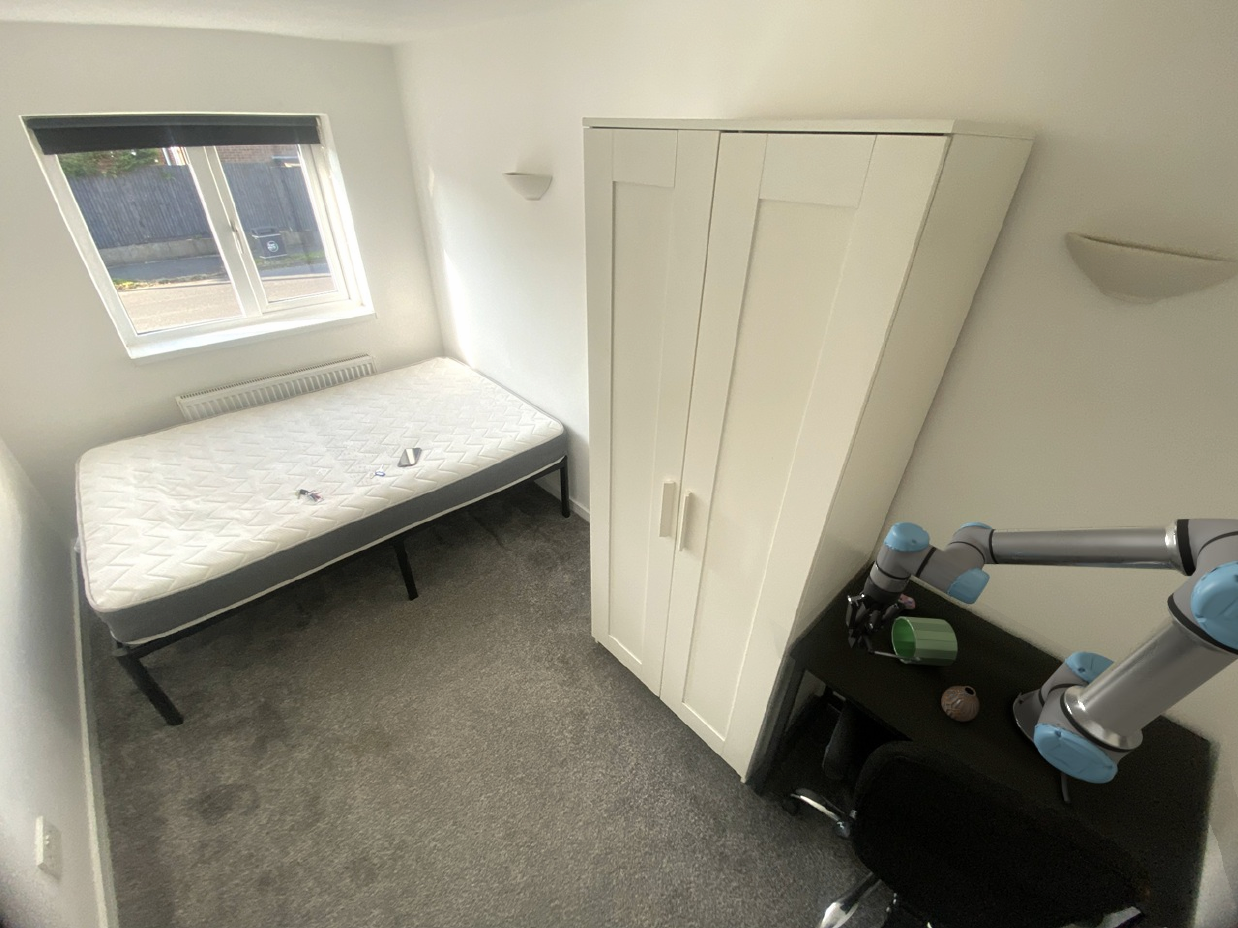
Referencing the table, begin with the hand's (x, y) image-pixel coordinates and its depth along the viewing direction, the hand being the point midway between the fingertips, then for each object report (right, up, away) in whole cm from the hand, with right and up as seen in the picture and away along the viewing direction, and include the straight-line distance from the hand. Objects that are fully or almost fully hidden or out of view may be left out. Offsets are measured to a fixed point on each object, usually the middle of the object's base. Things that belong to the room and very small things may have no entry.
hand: (855, 643), depth 128 cm
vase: (+18, -12, -11) cm, 24 cm away
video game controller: (+17, +6, +15) cm, 23 cm away
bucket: (+21, +1, -2) cm, 21 cm away
